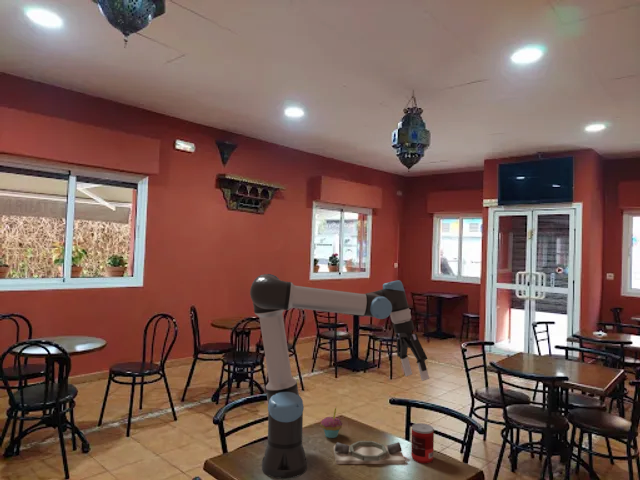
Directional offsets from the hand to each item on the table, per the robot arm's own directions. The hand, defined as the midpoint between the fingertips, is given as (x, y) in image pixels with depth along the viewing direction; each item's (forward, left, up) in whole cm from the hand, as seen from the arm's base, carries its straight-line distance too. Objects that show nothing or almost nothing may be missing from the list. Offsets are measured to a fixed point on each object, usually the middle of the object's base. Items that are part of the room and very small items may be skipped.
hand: (417, 377), depth 165 cm
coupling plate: (-10, -16, -27) cm, 33 cm away
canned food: (+5, -4, -27) cm, 28 cm away
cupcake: (-31, -12, -27) cm, 43 cm away
